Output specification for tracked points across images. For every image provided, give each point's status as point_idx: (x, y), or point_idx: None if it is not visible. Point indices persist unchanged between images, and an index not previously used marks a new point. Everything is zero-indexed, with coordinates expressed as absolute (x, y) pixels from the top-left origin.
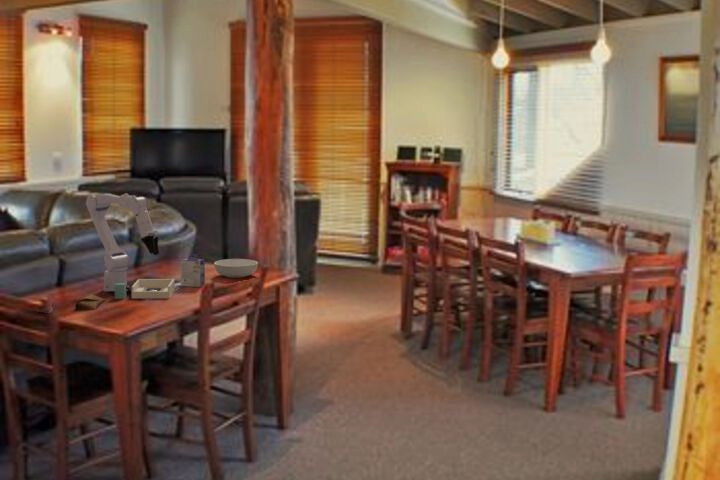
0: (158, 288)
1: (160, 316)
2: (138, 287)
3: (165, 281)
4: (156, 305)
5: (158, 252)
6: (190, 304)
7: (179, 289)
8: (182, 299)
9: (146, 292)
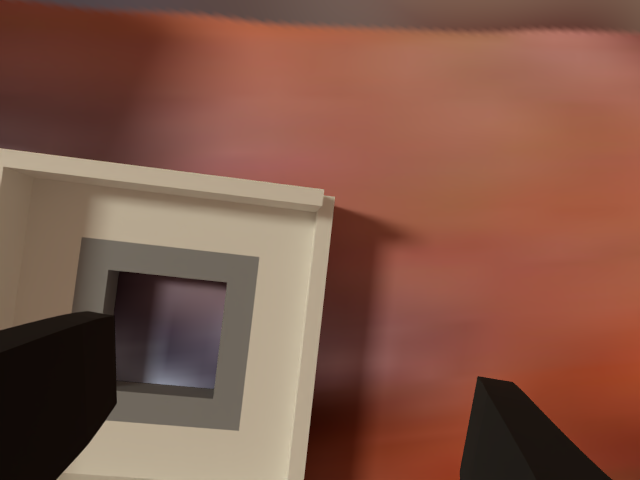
0: (104, 297)
1: None
2: (64, 474)
3: (3, 237)
4: (530, 287)
5: (102, 319)
6: (528, 59)
7: (17, 131)
8: (374, 111)
9: (313, 384)
